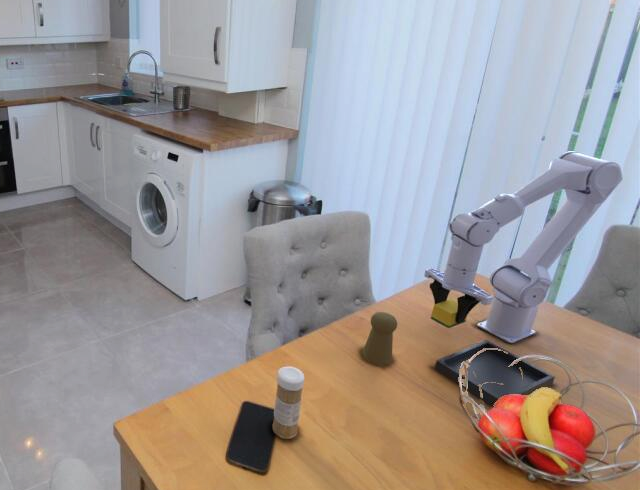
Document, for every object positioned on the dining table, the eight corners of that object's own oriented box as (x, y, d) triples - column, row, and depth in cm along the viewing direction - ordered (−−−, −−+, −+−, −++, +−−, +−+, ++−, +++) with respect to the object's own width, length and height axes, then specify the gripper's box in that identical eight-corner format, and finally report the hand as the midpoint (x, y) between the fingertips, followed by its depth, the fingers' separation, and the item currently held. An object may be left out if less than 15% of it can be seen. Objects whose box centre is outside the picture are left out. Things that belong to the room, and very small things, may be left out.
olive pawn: (385, 348, 111) (393, 308, 107) (396, 366, 106) (405, 324, 102) (358, 347, 112) (365, 307, 108) (367, 365, 106) (375, 323, 102)
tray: (484, 347, 111) (486, 339, 110) (551, 385, 99) (555, 376, 98) (434, 368, 105) (436, 360, 104) (500, 411, 93) (503, 402, 92)
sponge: (447, 312, 117) (451, 298, 115) (465, 321, 113) (469, 307, 112) (430, 318, 115) (434, 304, 113) (448, 328, 111) (452, 313, 109)
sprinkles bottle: (285, 418, 93) (291, 362, 88) (302, 434, 89) (310, 377, 84) (266, 426, 91) (272, 370, 86) (283, 444, 88) (290, 386, 82)
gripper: (420, 255, 113) (409, 304, 118) (483, 283, 101) (468, 337, 106) (440, 249, 116) (429, 298, 121) (504, 276, 103) (489, 329, 108)
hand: (448, 315), depth 114 cm, fingers closed on sponge, 4 cm apart
